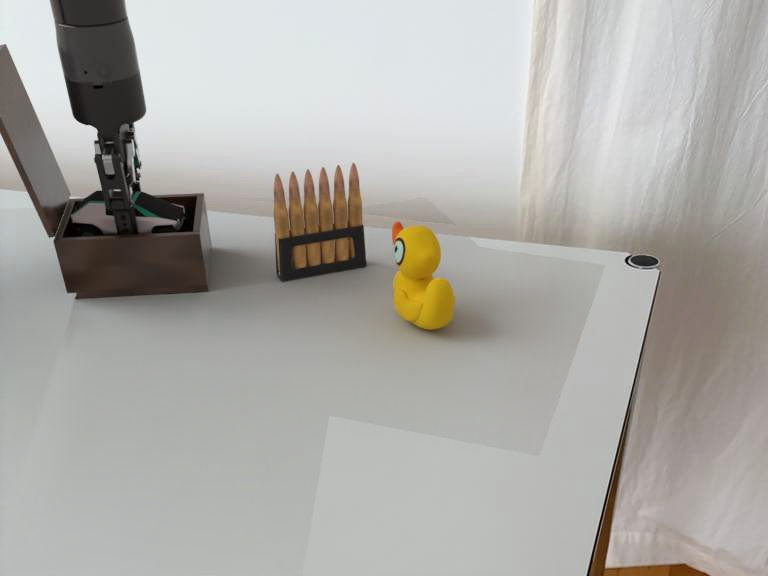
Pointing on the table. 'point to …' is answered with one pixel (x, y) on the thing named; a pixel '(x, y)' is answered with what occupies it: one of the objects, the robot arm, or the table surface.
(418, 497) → the table surface
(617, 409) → the table surface
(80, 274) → the case
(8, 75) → the case lid
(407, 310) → the duckling
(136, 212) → the toy car
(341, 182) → the ammunition clip
